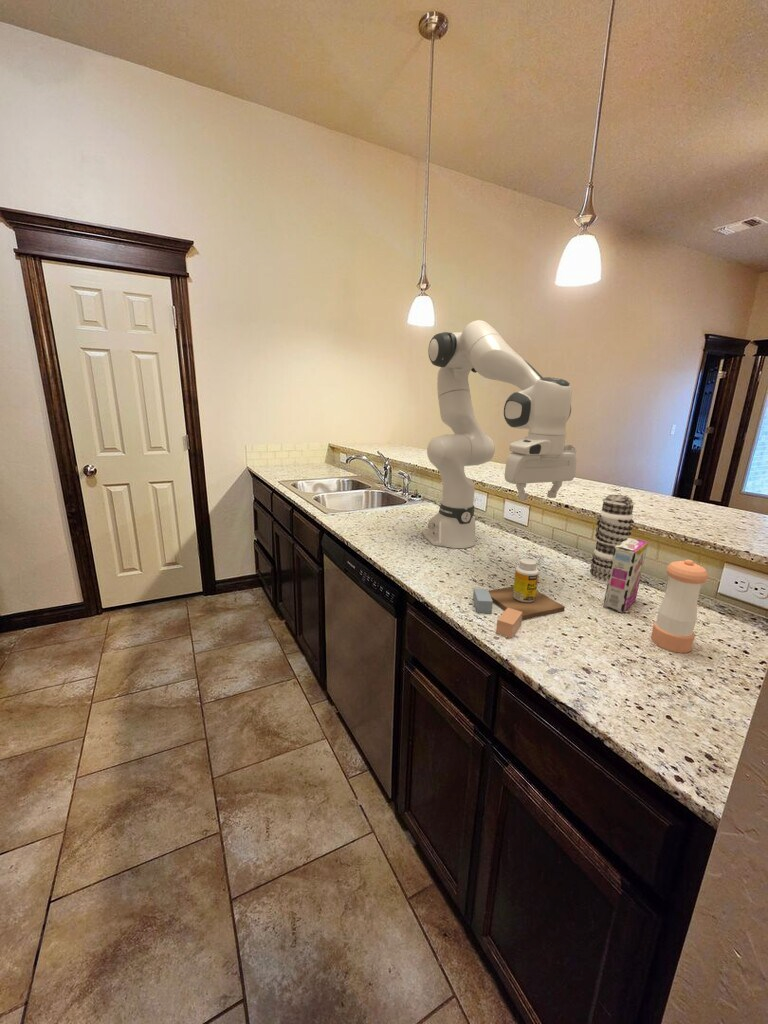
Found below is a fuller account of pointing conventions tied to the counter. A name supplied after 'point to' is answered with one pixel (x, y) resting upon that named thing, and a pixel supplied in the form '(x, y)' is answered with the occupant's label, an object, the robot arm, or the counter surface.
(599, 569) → the decorative candle
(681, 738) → the counter surface
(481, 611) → the brick blue
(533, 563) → the supplement bottle
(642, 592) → the counter surface
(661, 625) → the pepper shaker
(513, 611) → the brick terracotta
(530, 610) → the board
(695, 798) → the counter surface
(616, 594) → the candy bar box
